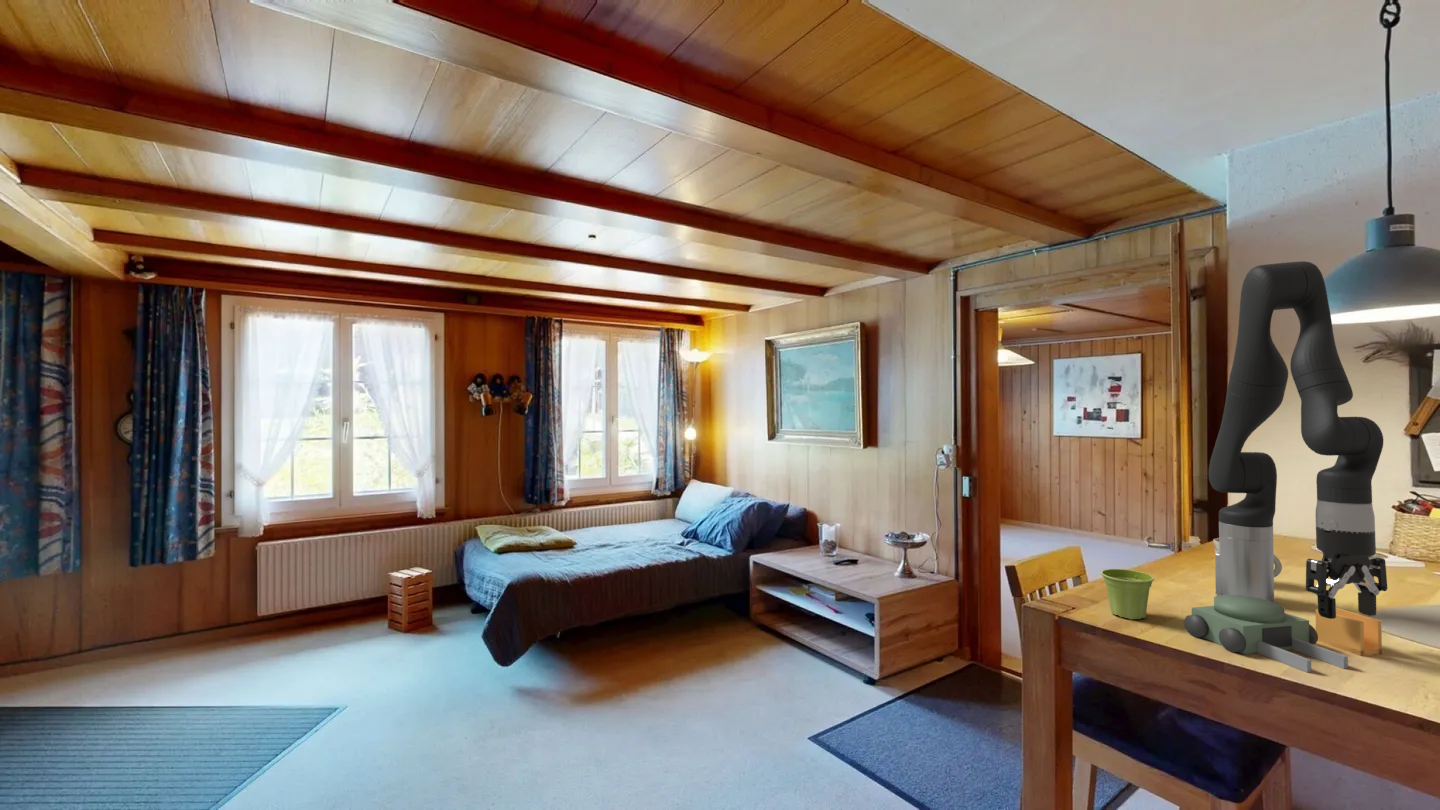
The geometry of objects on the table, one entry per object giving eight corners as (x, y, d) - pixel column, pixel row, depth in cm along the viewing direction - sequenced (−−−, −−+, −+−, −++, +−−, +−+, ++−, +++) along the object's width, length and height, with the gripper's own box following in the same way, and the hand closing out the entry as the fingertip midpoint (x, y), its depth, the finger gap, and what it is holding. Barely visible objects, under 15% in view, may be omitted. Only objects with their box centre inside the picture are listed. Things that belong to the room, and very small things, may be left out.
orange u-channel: (1315, 641, 113) (1315, 609, 113) (1336, 639, 114) (1335, 607, 114) (1360, 656, 106) (1360, 622, 106) (1381, 654, 107) (1381, 620, 107)
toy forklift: (1184, 632, 118) (1183, 596, 118) (1255, 626, 120) (1255, 591, 120) (1286, 674, 100) (1285, 632, 100) (1368, 666, 102) (1367, 624, 102)
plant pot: (1107, 620, 125) (1107, 578, 125) (1096, 605, 134) (1096, 567, 134) (1161, 625, 122) (1160, 582, 122) (1146, 610, 131) (1145, 570, 131)
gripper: (1353, 521, 115) (1356, 607, 114) (1288, 524, 113) (1291, 611, 112) (1403, 528, 107) (1406, 620, 107) (1335, 531, 105) (1337, 625, 105)
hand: (1347, 616), depth 110 cm, fingers open, 8 cm apart
